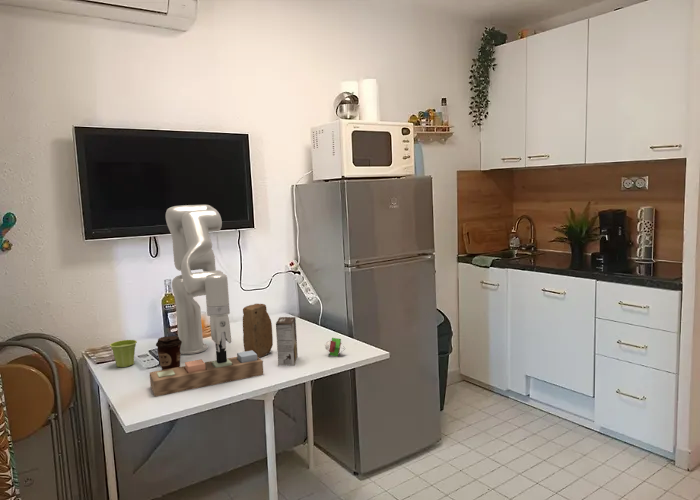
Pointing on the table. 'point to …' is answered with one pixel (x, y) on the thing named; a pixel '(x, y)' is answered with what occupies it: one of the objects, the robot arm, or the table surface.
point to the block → (257, 329)
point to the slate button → (246, 356)
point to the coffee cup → (169, 352)
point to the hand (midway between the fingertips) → (221, 362)
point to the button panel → (202, 376)
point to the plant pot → (124, 352)
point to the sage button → (221, 363)
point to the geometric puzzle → (334, 346)
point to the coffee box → (286, 341)
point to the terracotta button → (194, 366)
